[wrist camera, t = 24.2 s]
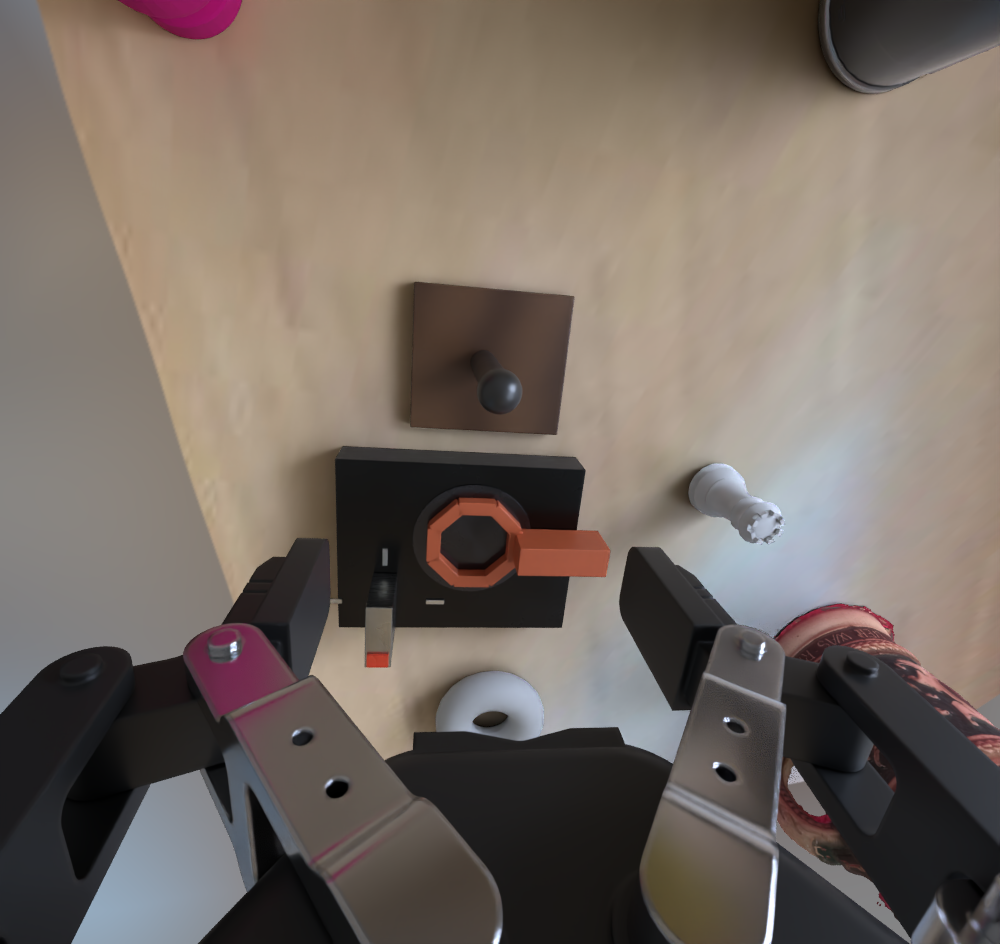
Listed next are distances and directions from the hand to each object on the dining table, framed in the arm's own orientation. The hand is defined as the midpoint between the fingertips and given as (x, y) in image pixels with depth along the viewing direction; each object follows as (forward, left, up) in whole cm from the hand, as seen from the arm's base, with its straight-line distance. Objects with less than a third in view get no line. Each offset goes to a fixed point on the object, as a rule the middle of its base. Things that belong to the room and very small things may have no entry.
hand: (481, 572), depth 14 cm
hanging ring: (-5, +11, -23) cm, 26 cm away
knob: (+4, +16, -23) cm, 29 cm away
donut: (-5, +30, -26) cm, 40 cm away
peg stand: (-2, -2, -26) cm, 26 cm away
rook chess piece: (-22, +7, -26) cm, 35 cm away
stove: (0, +13, -26) cm, 29 cm away
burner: (-2, +11, -23) cm, 26 cm away
